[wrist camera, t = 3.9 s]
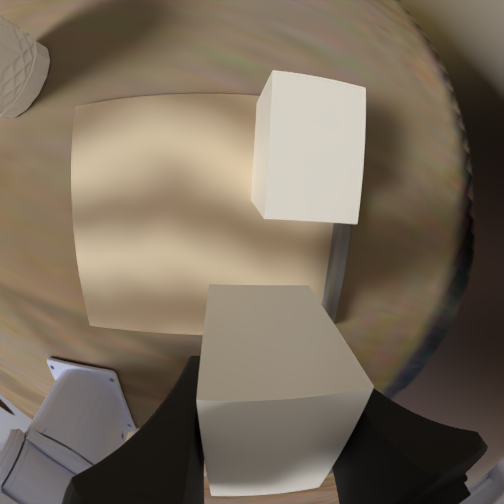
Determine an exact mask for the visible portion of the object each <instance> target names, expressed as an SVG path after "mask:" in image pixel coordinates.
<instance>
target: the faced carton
mask: <svg viewBox="0 0 504 504" xmlns="http://www.w3.org/2000/svg"><path fill="white" fill-rule="evenodd" d="M365 125H366V88H364V87H361V86H357V85H353V84H349V83H345V82H340V81H336V80H331V79H326V78H321V77H316V76H310V75H304V74H298V73H291V72H284V71H275V70H273V71H272V73H271V75H270V77H269V79H268V81H267V83H266V85H265V87H264V89H263V91H262V93H261V95H260V97H259V99H258V101H257V106H256V123H255V140H254V158H253V176H252V194H251V201H252V202H253V204H254V205H255V207H256V208H257V209H258V211H259V212H260V214H261V215H262V217H263V218H264V219H277V220H297V221H315V222H331V223H346V224H358V216H359V208H360V199H361V189H362V178H363V165H364V149H365Z"/></svg>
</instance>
